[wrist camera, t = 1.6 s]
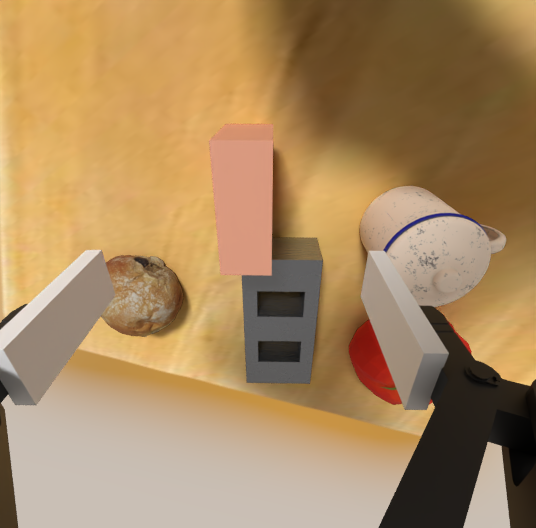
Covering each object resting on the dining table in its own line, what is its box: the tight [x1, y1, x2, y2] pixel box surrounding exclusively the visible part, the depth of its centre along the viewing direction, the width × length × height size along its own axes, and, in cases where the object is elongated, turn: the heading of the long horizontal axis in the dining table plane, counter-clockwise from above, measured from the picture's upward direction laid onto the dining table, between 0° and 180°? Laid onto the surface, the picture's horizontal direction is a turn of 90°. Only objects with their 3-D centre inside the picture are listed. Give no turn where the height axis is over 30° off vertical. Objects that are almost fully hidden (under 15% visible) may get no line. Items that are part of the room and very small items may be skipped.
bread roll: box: [101, 255, 183, 337], centre depth 37 cm, size 10×10×8 cm
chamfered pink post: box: [209, 124, 273, 276], centre depth 27 cm, size 10×4×11 cm, turn 0°
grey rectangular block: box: [242, 237, 323, 384], centre depth 38 cm, size 18×8×5 cm, turn 0°
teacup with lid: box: [360, 186, 506, 307], centre depth 29 cm, size 12×9×12 cm
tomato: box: [349, 320, 471, 405], centre depth 39 cm, size 14×13×9 cm
